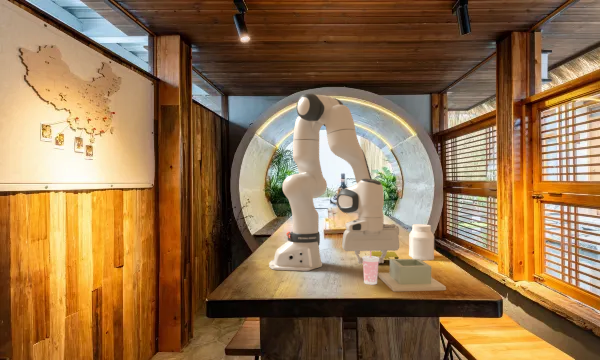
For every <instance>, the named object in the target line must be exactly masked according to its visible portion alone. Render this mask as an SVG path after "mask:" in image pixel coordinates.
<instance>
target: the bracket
mask: <svg viewBox="0 0 600 360" xmlns="http://www.w3.org/2000/svg"><path fill="white" fill-rule="evenodd" d="M381 255H382V252H381V251H371V256H376V257H381ZM391 258H394V259H400V258H399V256H398V254H397V253H396V252H395V251H387V254H386V256H385V258H384V259H385V260H390V259H391Z"/></svg>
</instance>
